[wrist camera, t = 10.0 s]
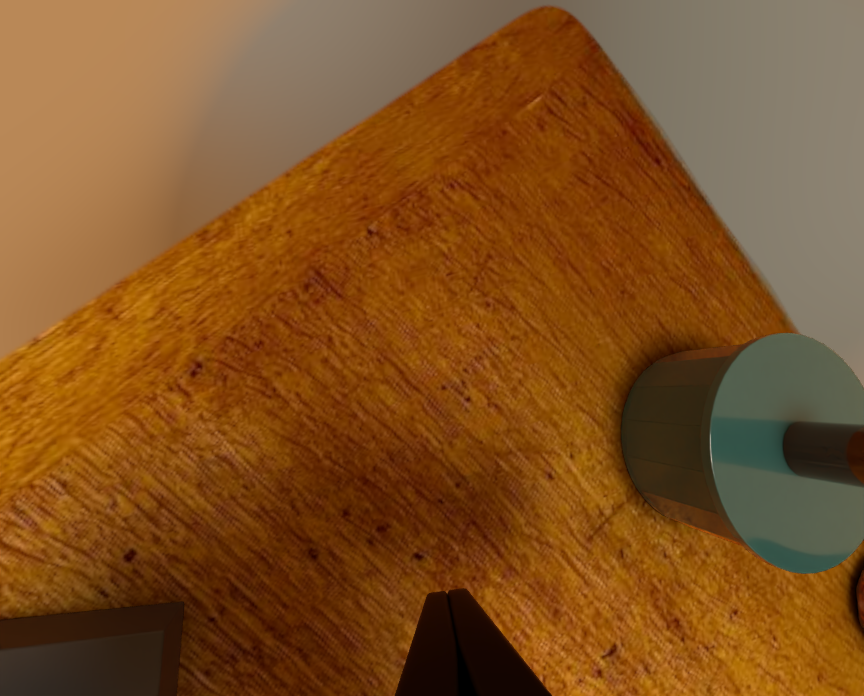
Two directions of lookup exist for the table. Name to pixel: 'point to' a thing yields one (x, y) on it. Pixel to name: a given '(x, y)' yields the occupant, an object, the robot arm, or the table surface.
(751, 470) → the jar lid
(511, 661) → the robot arm
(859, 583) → the sauce bottle
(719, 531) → the jar
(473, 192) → the table surface
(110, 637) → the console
